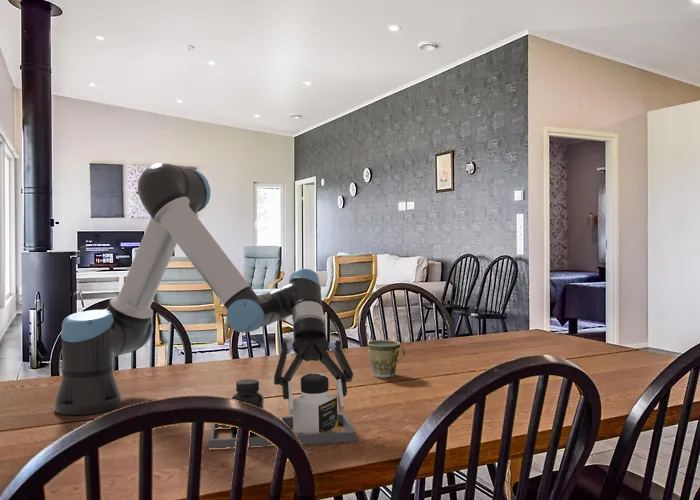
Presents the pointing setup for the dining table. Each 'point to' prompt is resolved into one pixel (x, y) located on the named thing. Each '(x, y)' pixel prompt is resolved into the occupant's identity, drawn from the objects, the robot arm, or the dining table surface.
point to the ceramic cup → (384, 357)
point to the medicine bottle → (315, 406)
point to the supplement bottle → (248, 397)
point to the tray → (304, 438)
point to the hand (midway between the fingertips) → (316, 410)
